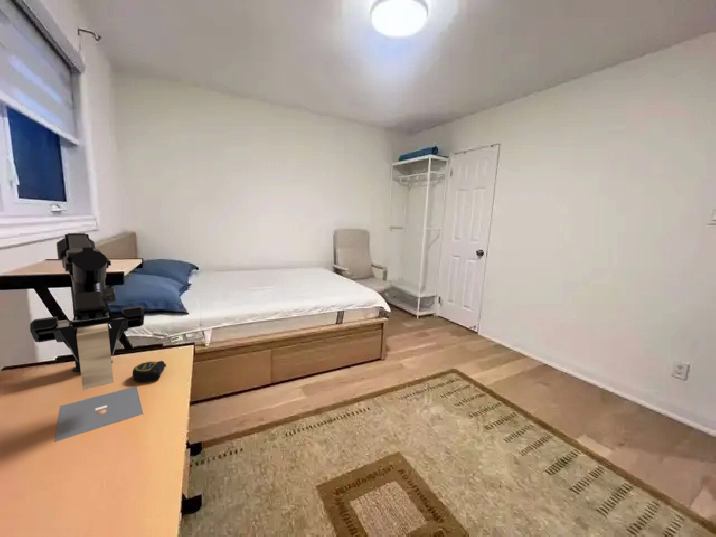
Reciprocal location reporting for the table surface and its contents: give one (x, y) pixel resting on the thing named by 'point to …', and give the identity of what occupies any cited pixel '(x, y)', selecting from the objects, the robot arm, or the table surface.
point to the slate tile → (97, 412)
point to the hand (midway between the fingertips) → (95, 358)
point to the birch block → (94, 356)
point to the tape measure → (148, 371)
